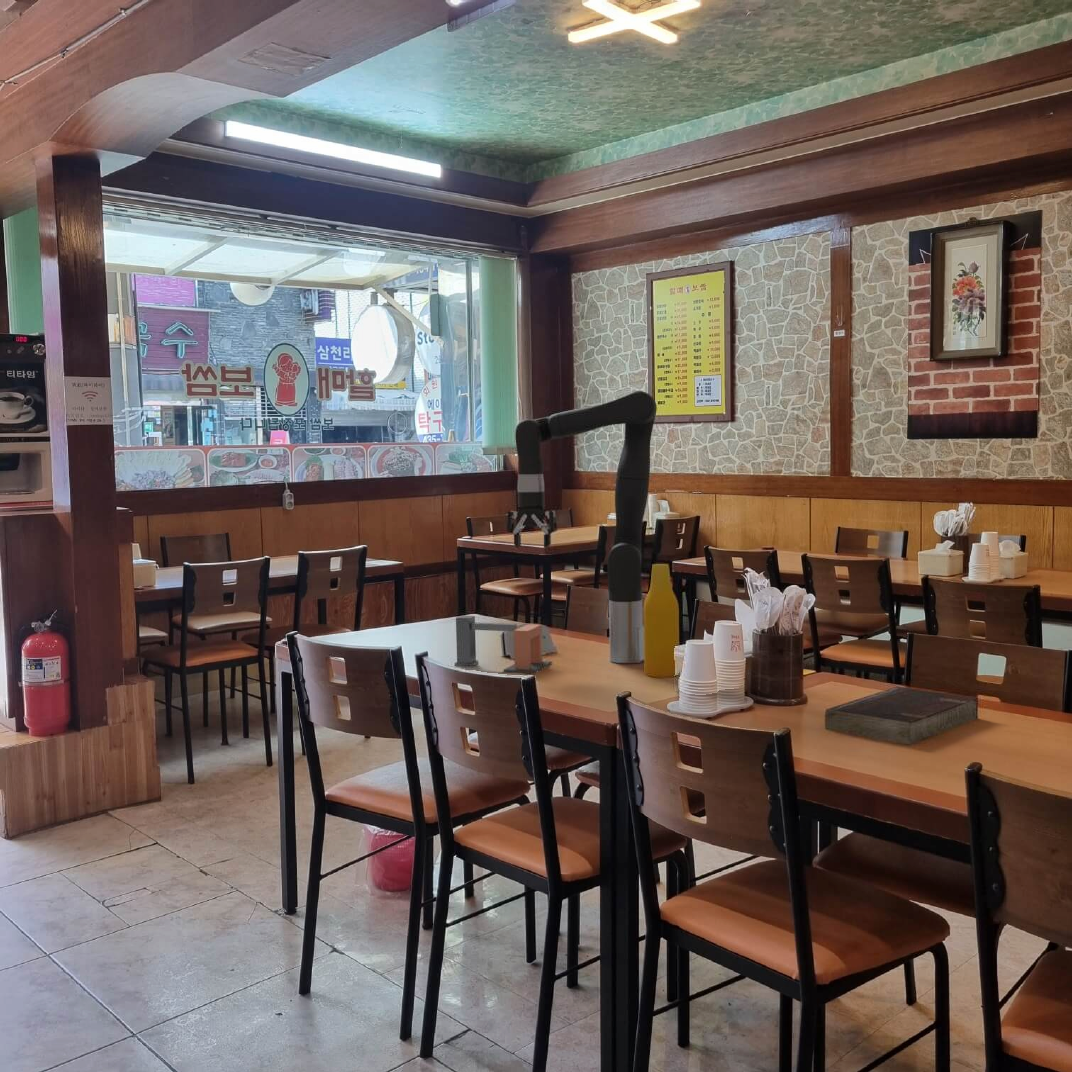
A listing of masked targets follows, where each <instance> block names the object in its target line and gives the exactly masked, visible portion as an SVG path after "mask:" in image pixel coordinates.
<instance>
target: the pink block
mask: <svg viewBox="0 0 1072 1072" xmlns="http://www.w3.org/2000/svg"><path fill="white" fill-rule="evenodd" d="M527 624H528V625H525V626H523V627H521V628H519V629H516V630H514V658H515V659H514V664H515V669H524V670H529V669H531V663H542V661H543V654H542V625H543V624H541V625H535V624H536V623H534V624H529V623H527Z"/></svg>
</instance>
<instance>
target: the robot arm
mask: <svg viewBox="0 0 1072 1072" xmlns="http://www.w3.org/2000/svg"><path fill="white" fill-rule="evenodd" d="M657 408H658V407H657V403H656V400H655V398H654V396H652V395H651V394H649V393H647V392H646V391H643V390H635V391H632V392H630V393H628V394H626V395H623V396H621V397H619V398H616V399H614V400H611V401H608V402H605V403H604V402H603V403H601V404H596V405H592V406H591V405H590V406H585V407H582V408H576V409H570V410H566V411H565V410H564V411H561V412H557V413H553V414H551V415H550V416H545V417H541V418H535V419H529V418H527V419H526V418H525V419H523V420H521V421H520V422H519V423H518V424H517V426H516V427H515V431H514V432H515V436H514V438H515V446H516V452H517V453H516V454H517V460H518V461H517V467H518V468H517V470H518V471H517V472H518V477H517V488H516V489H517V507H518V509H517V511H514V510H510V511H507V518H506V520H507V521H506V522H507V523H506V531H507V533H510V534H513V545H514V546H515V547H516V548H521V547H522V538H521V537H522V536H521V535H522V534H521V532H522V530H523V529H524V528H525V527H539V528H540V530H541V531H542V532H543V548H545V549H548V548H549V547H550V546H551V544H552V542H551V541H552V539H551V535H552V534H553V533H555V532H557V531H558V526H557V524H558V523H557V522H558V521H557V513H556V511H555V510H550V511H546V508H545V480H544V465H543V464H544V463H543V462H544V461H543V455H542V454H541V447H540V446H541V444H542V443H545V442H548V441H552V440H555V439H563V438H567V437H573V436H577V435H580V434H584V433H587V432H590V431H593V430H594V431H595V430H597V429H600V428H604V427H608V426H614V425H622V424H623V425H624V439H623V440H624V441H623V447H622V451H621V454H620V456H619V461H618V466H617V471H616V477H615V488H614V510H615V530H614V536H613V541H612V545H611V550H610V551H609V552H608V555H607V589H608V607H609V608H608V609H609V610H608V611H609V612H608V616H609V617H608V618H609V621H608V623H609V626H608V627H609V661H610V662H612V663H617V664H636V663H637V664H640V663H642V662H644V625H643V589H642V588H643V587H642V560H643V559H642V557H643V554H642V529H643V526H642V525H643V520H644V516H645V512H646V508H647V502H648V496H649V489H650V488H649V487H650V475H651V474H650V472H651V440H652V435H653V434H652V433H653V428H654V423H655V419H656V415H657V410H658V409H657ZM546 517H547V520H549V526H548V524H547V523H546V521H545V518H546ZM516 518H518V519H519V521H518V523H517V524H516V525H515V519H516Z"/></svg>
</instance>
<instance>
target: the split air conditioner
mask: <svg viewBox="0 0 1072 1072" xmlns="http://www.w3.org/2000/svg"><path fill="white" fill-rule="evenodd" d="M528 624H535V625H542V653H549V654H551V653H550V652H555V651H557V652H558V649H557V646H556V645H555V644H554V642H553V639H552V635H551V633H550V630H549V627H548V626H547V625H544V624H541V623H521V624H517V629H519V628H521V627H523V626H525V625H528ZM500 645H501V657H502V658H505V657H510V659H512V660H515V658H514V631H502V632H501V634H500ZM555 653H556V652H555Z"/></svg>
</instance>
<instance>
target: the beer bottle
mask: <svg viewBox="0 0 1072 1072" xmlns="http://www.w3.org/2000/svg"><path fill="white" fill-rule="evenodd" d="M651 566H652V568H651V579H650V587H649V590H648V593H647V595H646V596H645V600H644V602H643V603H644V604H643V626H644V660H643V663H644V664H643V665H644V667H643V671H644V674H645V676H647V677H649V678H656V679H660V678H661V679H668V678H675V677H674V675H675V660H674V648H675V646H679V647H680V627H679V626H680V623H679V621H680V620H679V619H680V617H679V616H680V615H679V613H680V610H679V609H680V608H679V602H678V599H677V597H676V594H675V593H674V591H673V587H672V583H671V574H670V573H671V571H670V566H669V563H653V564H652V565H651Z"/></svg>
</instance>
